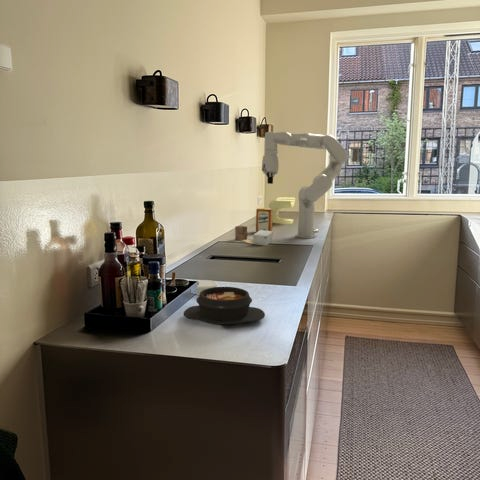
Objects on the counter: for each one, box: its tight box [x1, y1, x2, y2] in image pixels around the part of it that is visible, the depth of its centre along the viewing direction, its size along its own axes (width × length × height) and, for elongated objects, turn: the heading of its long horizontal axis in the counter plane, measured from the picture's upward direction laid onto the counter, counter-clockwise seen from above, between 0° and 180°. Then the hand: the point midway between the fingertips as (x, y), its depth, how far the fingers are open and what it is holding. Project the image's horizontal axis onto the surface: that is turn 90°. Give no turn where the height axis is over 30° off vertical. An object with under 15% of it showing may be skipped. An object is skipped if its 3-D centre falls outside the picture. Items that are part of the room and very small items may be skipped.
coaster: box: [196, 279, 218, 296], centre depth 170 cm, size 10×10×4 cm
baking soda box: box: [255, 207, 273, 233], centre depth 304 cm, size 10×6×16 cm
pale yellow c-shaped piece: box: [268, 196, 296, 225], centre depth 352 cm, size 30×16×18 cm, turn 167°
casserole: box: [182, 286, 266, 326], centre depth 142 cm, size 25×19×8 cm
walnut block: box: [234, 225, 248, 241], centre depth 277 cm, size 5×5×8 cm
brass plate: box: [238, 238, 254, 245], centre depth 272 cm, size 12×12×1 cm
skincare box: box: [252, 230, 274, 247], centre depth 267 cm, size 8×6×15 cm
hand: (270, 183), depth 282 cm, fingers closed
